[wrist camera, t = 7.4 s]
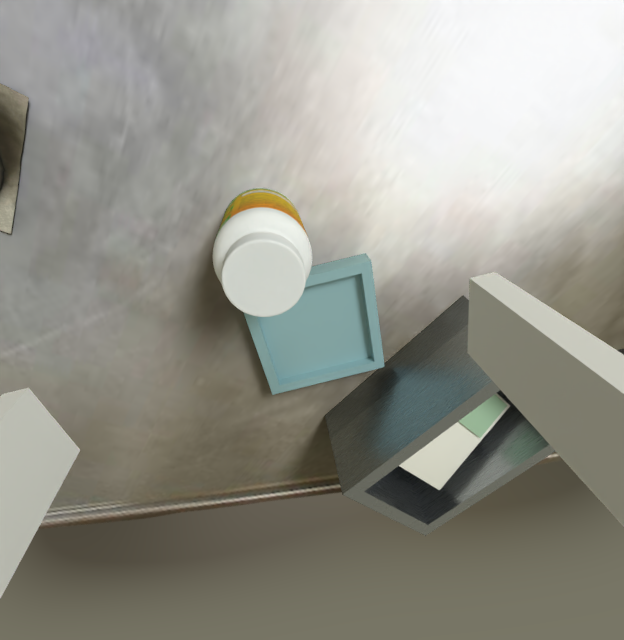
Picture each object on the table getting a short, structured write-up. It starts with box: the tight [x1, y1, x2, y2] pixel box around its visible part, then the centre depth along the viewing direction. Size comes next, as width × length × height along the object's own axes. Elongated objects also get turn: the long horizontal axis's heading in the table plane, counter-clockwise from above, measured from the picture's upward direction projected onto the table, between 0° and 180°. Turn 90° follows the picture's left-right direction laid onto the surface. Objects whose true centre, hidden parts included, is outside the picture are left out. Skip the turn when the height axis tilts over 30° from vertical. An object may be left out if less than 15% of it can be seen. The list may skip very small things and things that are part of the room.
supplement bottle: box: [213, 188, 312, 317], centre depth 21 cm, size 5×5×10 cm
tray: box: [243, 254, 385, 395], centre depth 29 cm, size 10×10×2 cm
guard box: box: [325, 296, 555, 536], centre depth 31 cm, size 17×11×8 cm, turn 137°
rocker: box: [399, 393, 510, 490], centre depth 30 cm, size 10×7×2 cm
